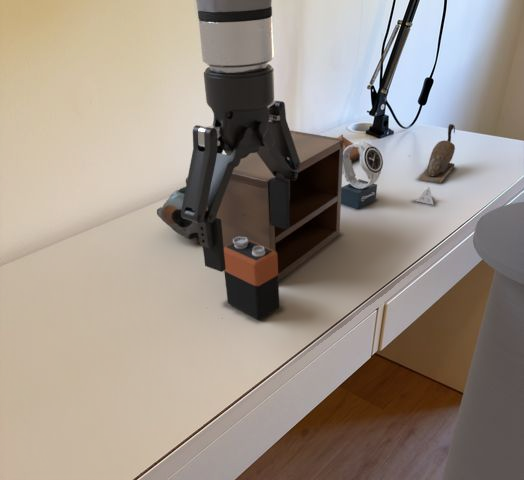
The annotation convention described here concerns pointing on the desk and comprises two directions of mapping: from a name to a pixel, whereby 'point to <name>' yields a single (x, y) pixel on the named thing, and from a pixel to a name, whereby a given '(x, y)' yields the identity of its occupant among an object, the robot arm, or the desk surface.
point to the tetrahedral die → (426, 197)
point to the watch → (359, 190)
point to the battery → (251, 277)
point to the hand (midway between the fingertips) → (249, 246)
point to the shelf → (300, 204)
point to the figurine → (440, 160)
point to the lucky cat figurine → (178, 215)
